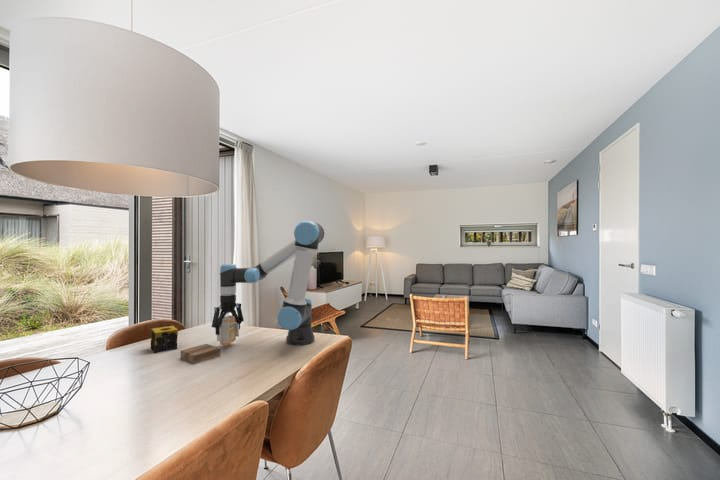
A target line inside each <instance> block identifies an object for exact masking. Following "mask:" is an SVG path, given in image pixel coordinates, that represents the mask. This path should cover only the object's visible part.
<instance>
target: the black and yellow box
mask: <svg viewBox="0 0 720 480" xmlns="http://www.w3.org/2000/svg"><path fill="white" fill-rule="evenodd" d="M150 330H151V334H150V335H151V339H150V350H151V351H152V352H153V353H154V354H157V353H158V352H159V353H162V352H168V351H173V350H177V349H178V335H179V334H178V333H179V332H178V331H179V330H178V328H177V327H175V325H170V326H162V327H154V328H151V329H150Z"/></svg>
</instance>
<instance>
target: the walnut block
mask: <svg viewBox="0 0 720 480" xmlns="http://www.w3.org/2000/svg"><path fill="white" fill-rule="evenodd" d="M218 357H221V348H220V347H217V346H214V345H211V344H207V343H205V344H200V345H197V346H193V347H189V348H186V349H182V350H180V359H181V360H183V361H186V362H188V363H191V364H193V365H196V364H199V363H203V362H206V361H209V360H212V359H215V358H218Z"/></svg>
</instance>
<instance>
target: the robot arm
mask: <svg viewBox="0 0 720 480" xmlns="http://www.w3.org/2000/svg"><path fill="white" fill-rule="evenodd" d="M293 234H294V235H293V236H294V240H291V242H289V243H288V244H286V245H285V246H283V247H281V249H279V250H277V251H276V252H274V253H273V254H271V255H270V256H269V257H267V258H266V259H263V261H261V262H260V263H258V264H257V265H255V266H253V267H251V266H250V267H246V268H245V267H243V268H241V267H237V265H236V264H235V263H232V264H222V265H221V266H220V268H219V269H220V270H219V277H220V278H219V281H220V282H219V283H220V285H219V286H220V287H219V288H220V289H219V292H220V295H219V296H220V297H219V303H220V304H219V306H215V307H214V310H213V311H214V313H213V318H212V323H211V328H214V329H215V335H216V341H218V342H220V341H221V328H220V326H221V324H222V319H223V318H224V317H226V316H227V314H229V313H231V314H230V315H232V316H235V319H236V338H237V337H238V338H239V337H240V330H241V324H242V322H244V315H243V312H242V303H238V302H236V301H237V295H236V294H237V284H240V283H242V284H243V283H244V284H256V283H258V281H262V280H263V279H266V277H267V276H268V275H269V274H271V273H272V272H274V271H275V270H277V269H278V268H279V267H281V266H283V265H284V264H285V263H287V262H288V261H290V260H291V259H293V258H294V260H293V261H294V262H293V267H292V271H291V276H290V282H289V287H288V292H287V296H286V297H284V299H283V302H282V305H281V306H282V307H281V309H280V310H279V311H278V314H277V323H278V324H279V326H280V327H281V328H283V329H284V330H286V331H287V330H288V332H287V336H286V338H285V339H286V340H285V343H286V344H288V345H292V346H305V345H310V344H312V343H314V342H315V339H316V337H315V335H314V334H315V333H314V330H313V327H312V306H313V304H312V299H310V298H306V294H307V288H308V284H309V279H310V274H311V268H312V265H313V258H314V253H316V252H317V251H318V248H319V245H320V243H321V242H322V241H323V239H324V238H325V229H324V228H323V226H322V225H320V223H317V222H314V221H312V220H303V221H301V222H299V223H298V224H297V225H296V226H295V228H294V231H293Z"/></svg>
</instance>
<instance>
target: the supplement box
mask: <svg viewBox="0 0 720 480" xmlns="http://www.w3.org/2000/svg"><path fill="white" fill-rule="evenodd" d="M220 328H221V341H219V343H220V345H221V346H224V345H225V346H228V345H230V344H232V343H233V342H235V341H236V340H237V336H236V319H235V316H232V314H230V315H225V317H224V318H223V319H222V324H221V326H220Z"/></svg>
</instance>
